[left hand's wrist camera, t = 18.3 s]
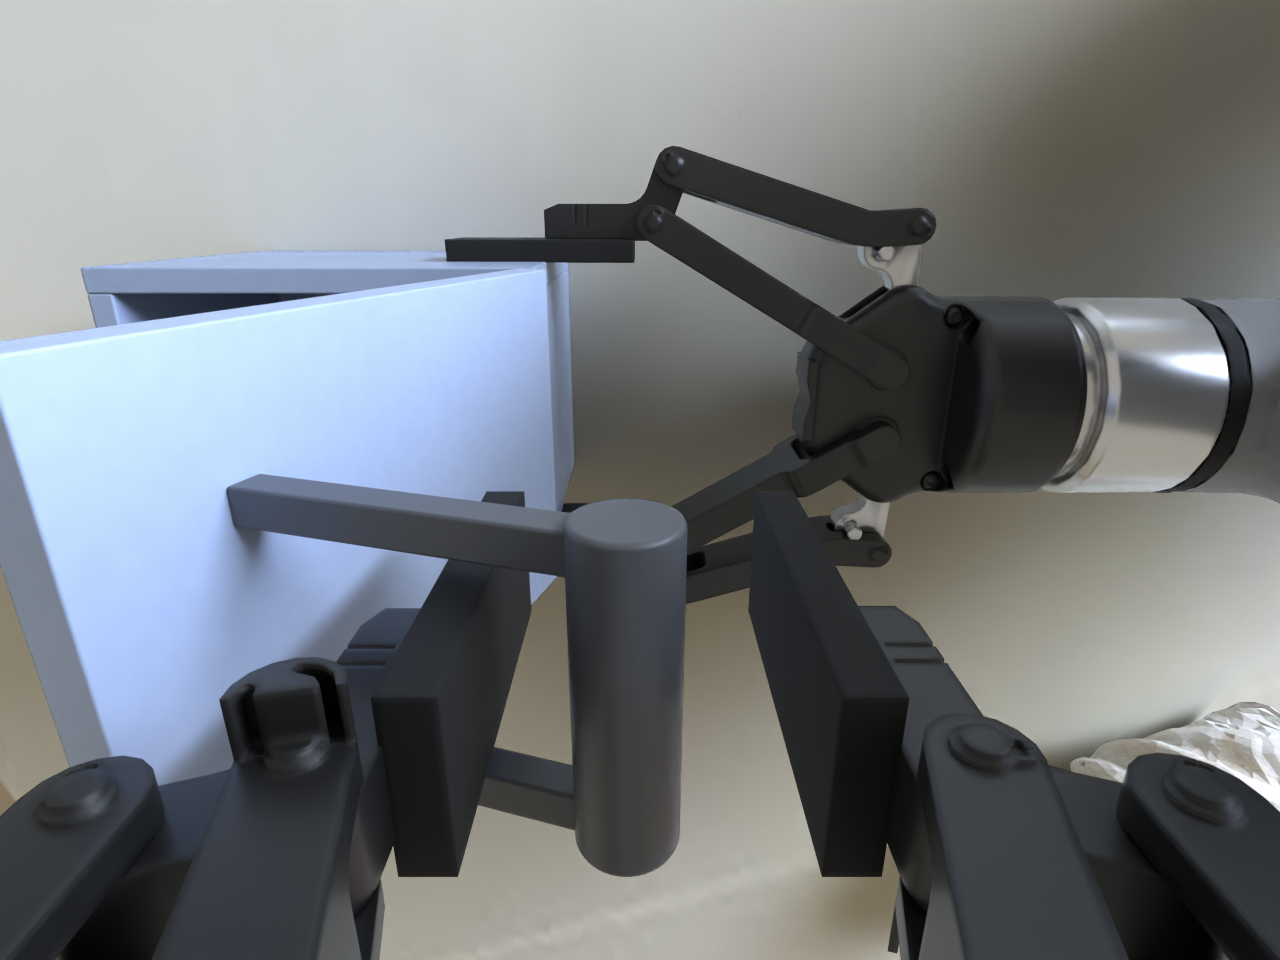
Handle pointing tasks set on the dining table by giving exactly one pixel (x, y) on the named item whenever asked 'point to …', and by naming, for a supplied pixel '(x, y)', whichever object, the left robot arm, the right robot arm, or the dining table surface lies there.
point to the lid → (328, 530)
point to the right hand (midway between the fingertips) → (467, 396)
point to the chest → (322, 273)
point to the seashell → (1206, 748)
